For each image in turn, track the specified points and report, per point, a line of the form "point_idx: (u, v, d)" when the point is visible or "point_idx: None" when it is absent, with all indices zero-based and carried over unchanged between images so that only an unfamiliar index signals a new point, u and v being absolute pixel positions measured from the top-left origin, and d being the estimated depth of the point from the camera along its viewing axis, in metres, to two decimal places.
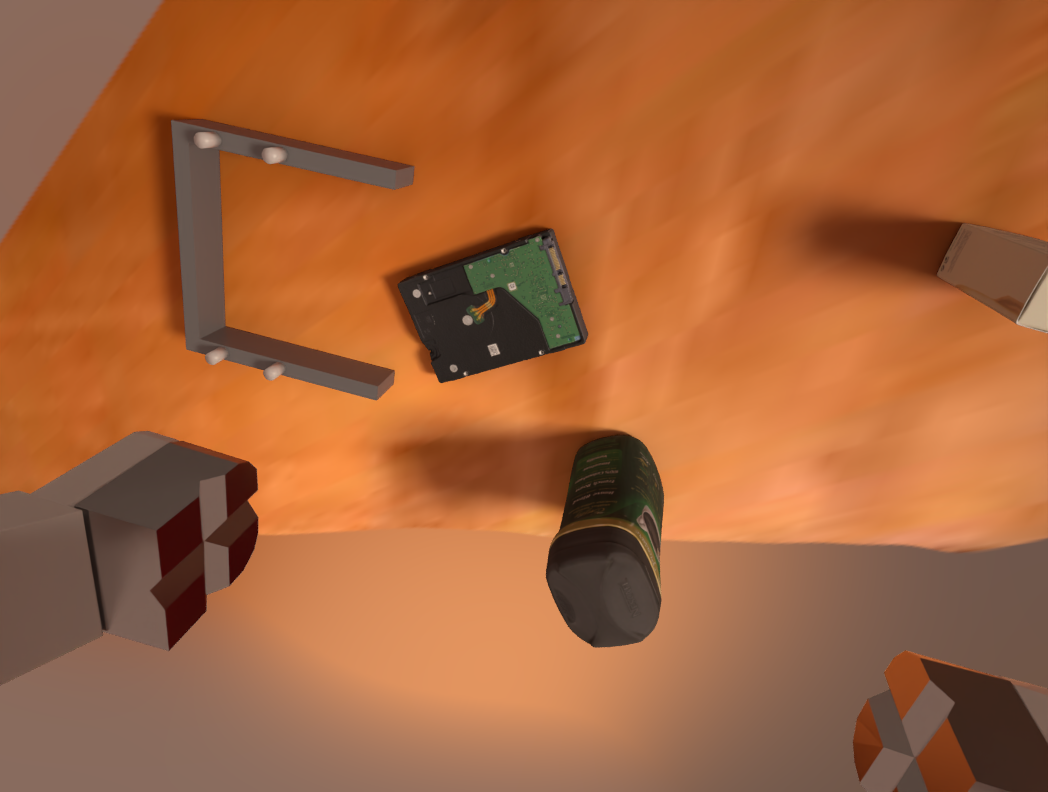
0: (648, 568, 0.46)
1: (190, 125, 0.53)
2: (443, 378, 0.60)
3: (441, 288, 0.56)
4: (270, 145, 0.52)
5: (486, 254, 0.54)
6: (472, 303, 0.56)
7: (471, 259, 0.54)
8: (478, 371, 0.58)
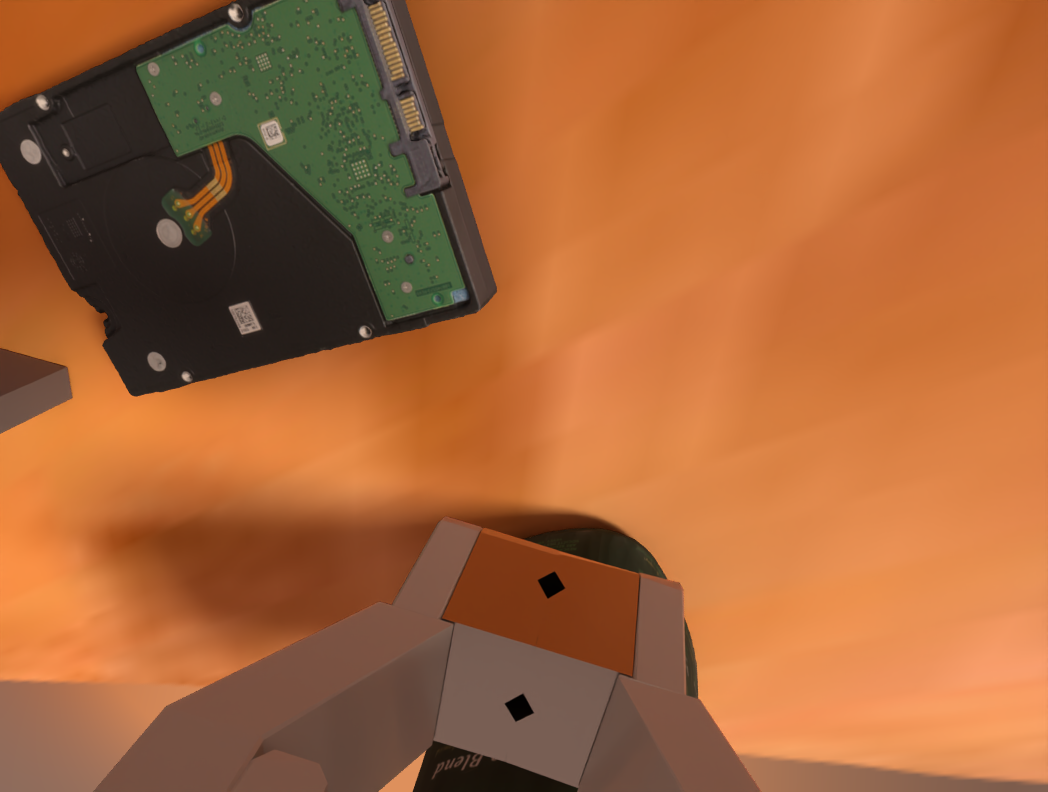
0: None
1: None
2: (137, 385, 0.24)
3: (93, 140, 0.20)
4: None
5: (189, 26, 0.18)
6: (173, 185, 0.20)
7: (150, 43, 0.18)
8: (215, 373, 0.23)
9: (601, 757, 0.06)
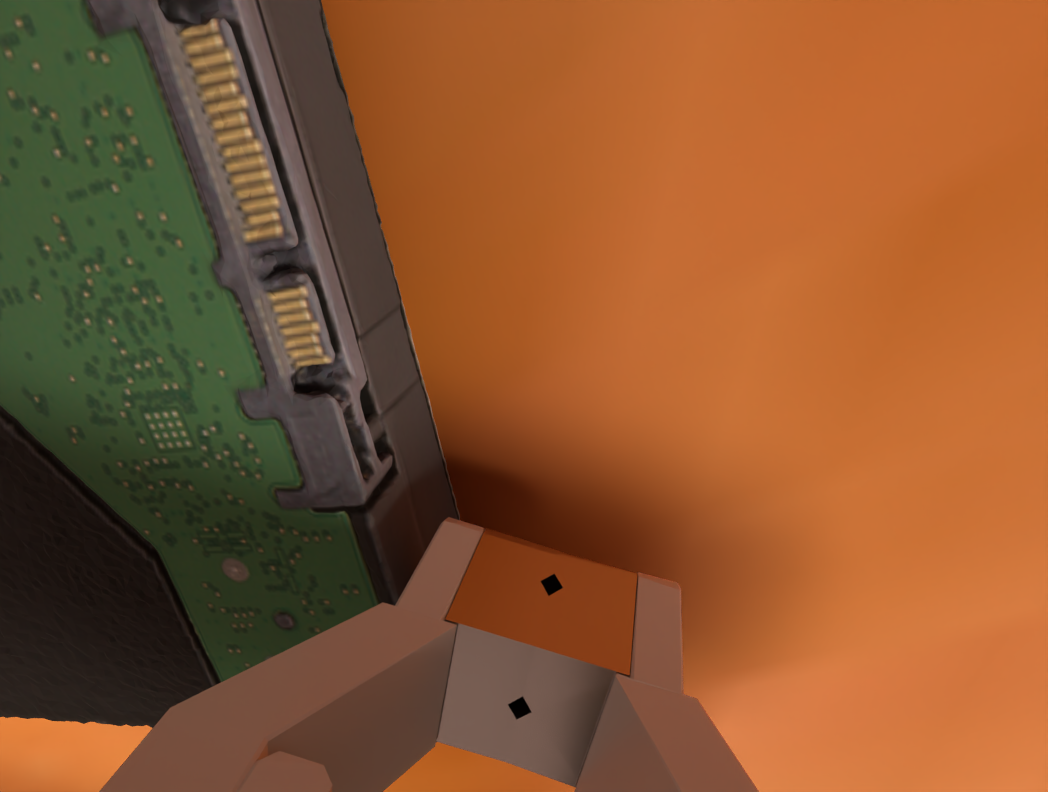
0: None
1: None
2: None
3: None
4: None
5: None
6: None
7: None
8: None
9: (599, 756, 0.06)
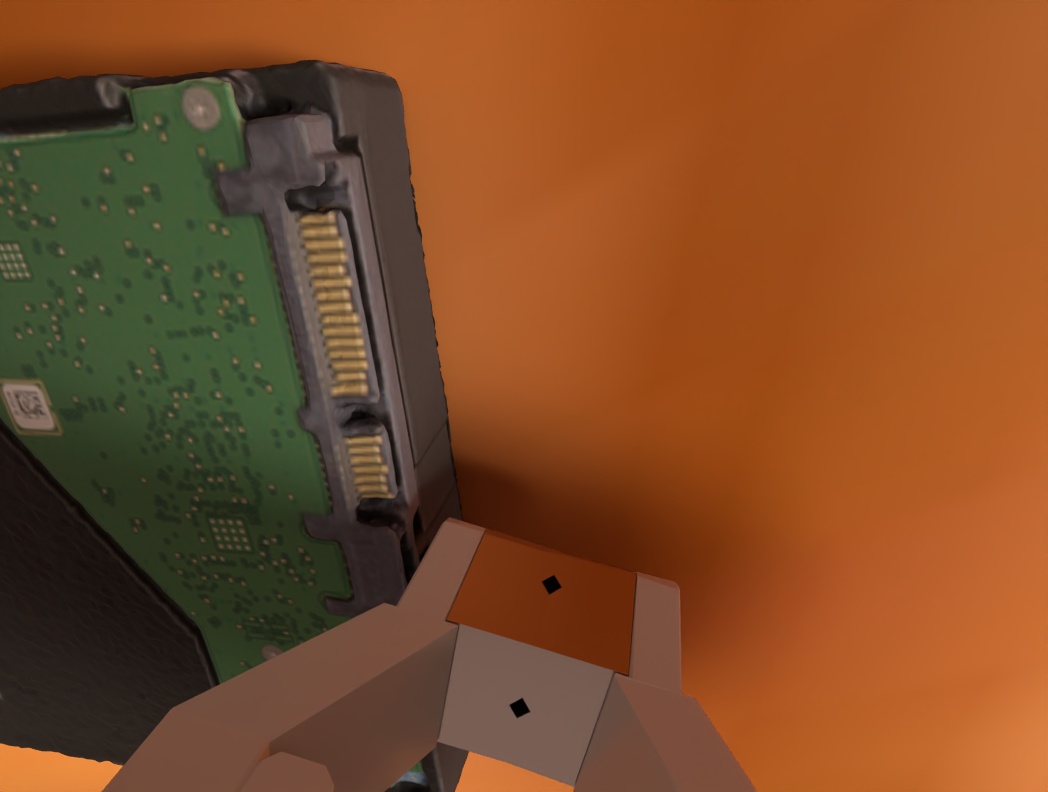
0: None
1: None
2: None
3: None
4: None
5: None
6: None
7: None
8: None
9: (597, 756, 0.06)
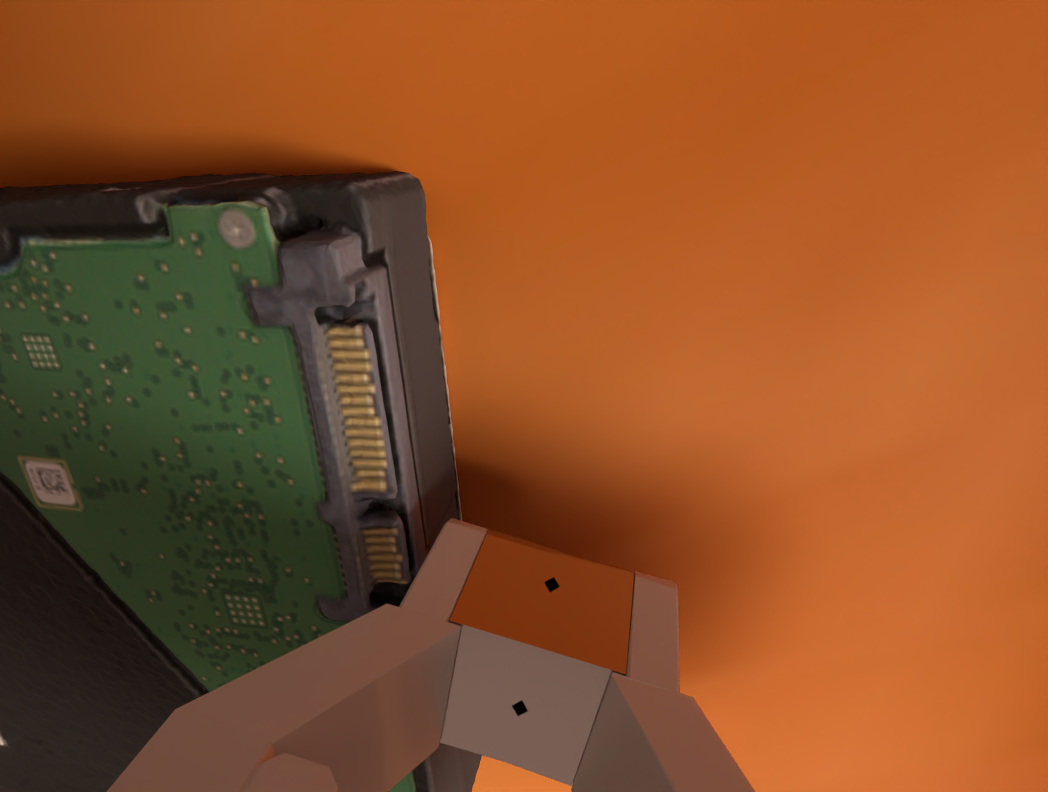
0: None
1: None
2: None
3: None
4: None
5: None
6: None
7: None
8: None
9: (595, 755, 0.06)
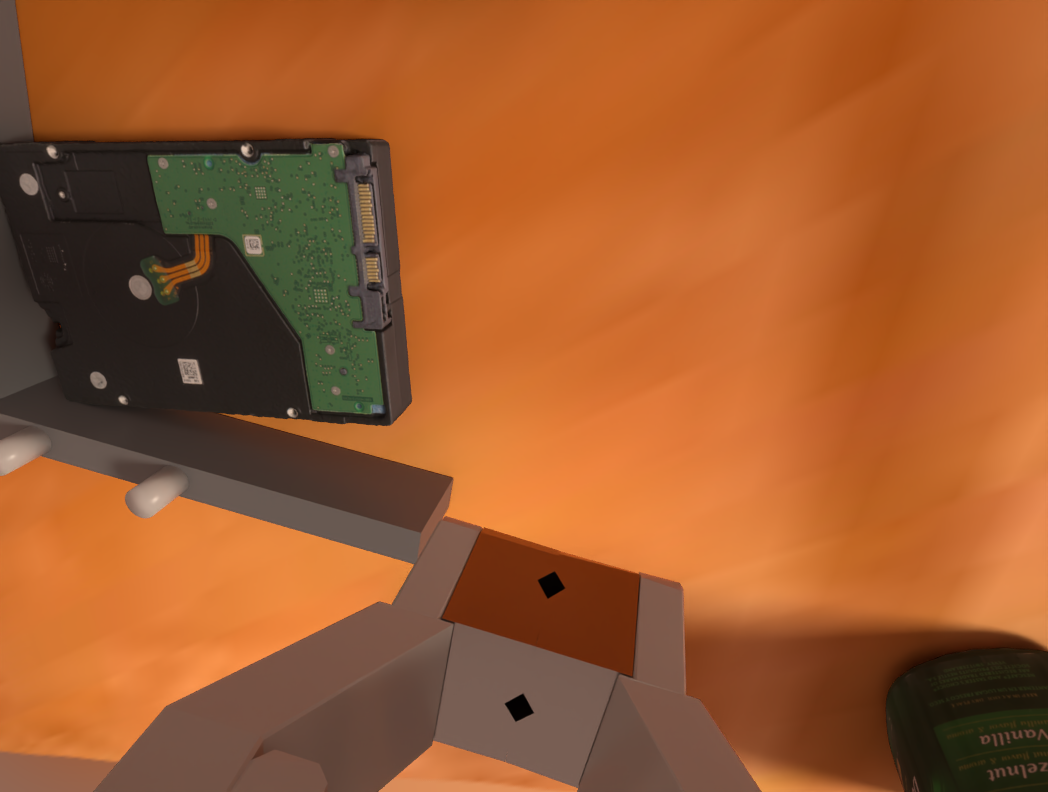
0: None
1: None
2: (74, 393, 0.26)
3: (90, 192, 0.23)
4: None
5: (204, 145, 0.21)
6: (155, 254, 0.23)
7: (166, 145, 0.21)
8: (150, 404, 0.26)
9: (601, 757, 0.06)
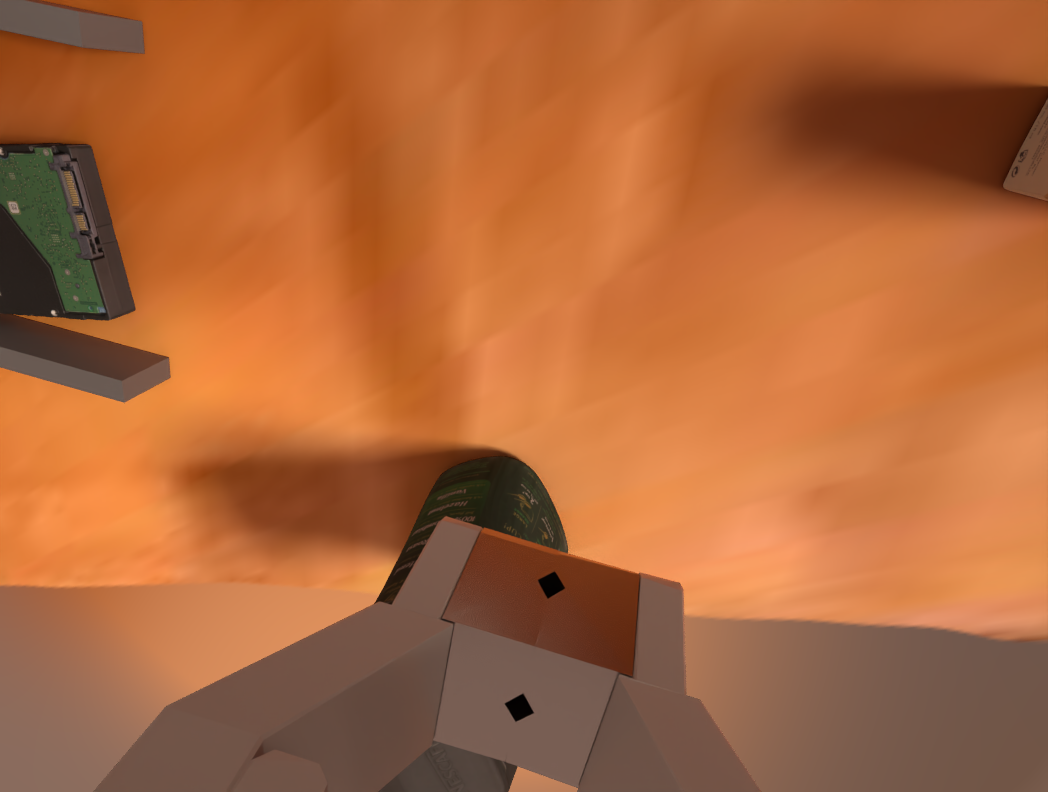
0: None
1: None
2: None
3: None
4: None
5: None
6: None
7: None
8: None
9: (601, 757, 0.06)
